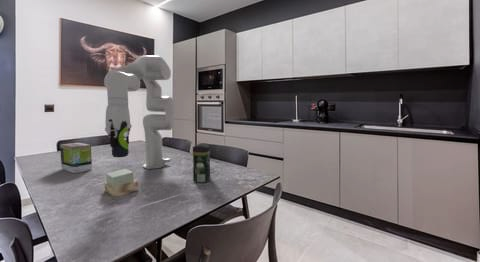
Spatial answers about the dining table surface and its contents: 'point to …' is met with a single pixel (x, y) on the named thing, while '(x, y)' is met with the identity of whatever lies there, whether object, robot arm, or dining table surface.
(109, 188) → the beech base brick
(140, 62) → the robot arm
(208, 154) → the coffee jar
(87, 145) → the tea box
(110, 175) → the sage brick
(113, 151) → the beverage can
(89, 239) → the dining table surface
